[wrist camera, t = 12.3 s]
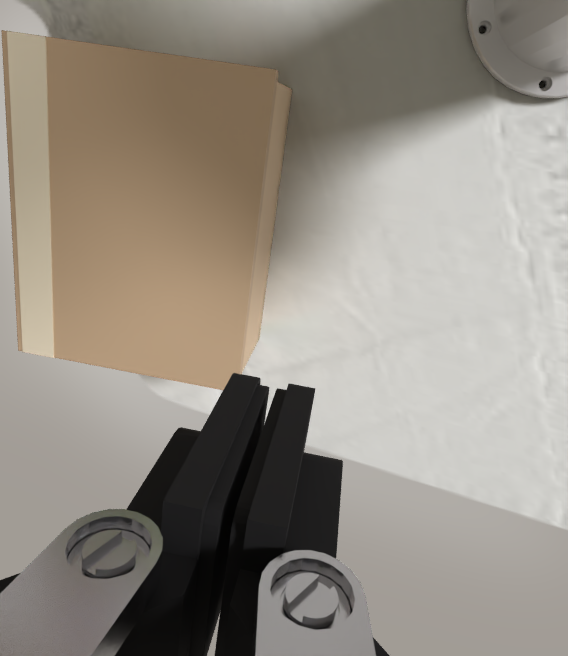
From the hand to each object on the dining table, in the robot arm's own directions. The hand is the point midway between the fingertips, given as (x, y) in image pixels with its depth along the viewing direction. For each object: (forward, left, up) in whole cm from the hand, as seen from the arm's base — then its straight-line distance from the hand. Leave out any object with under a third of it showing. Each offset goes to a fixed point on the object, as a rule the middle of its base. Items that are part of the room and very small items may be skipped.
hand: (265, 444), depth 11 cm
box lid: (+2, -13, -25) cm, 28 cm away
